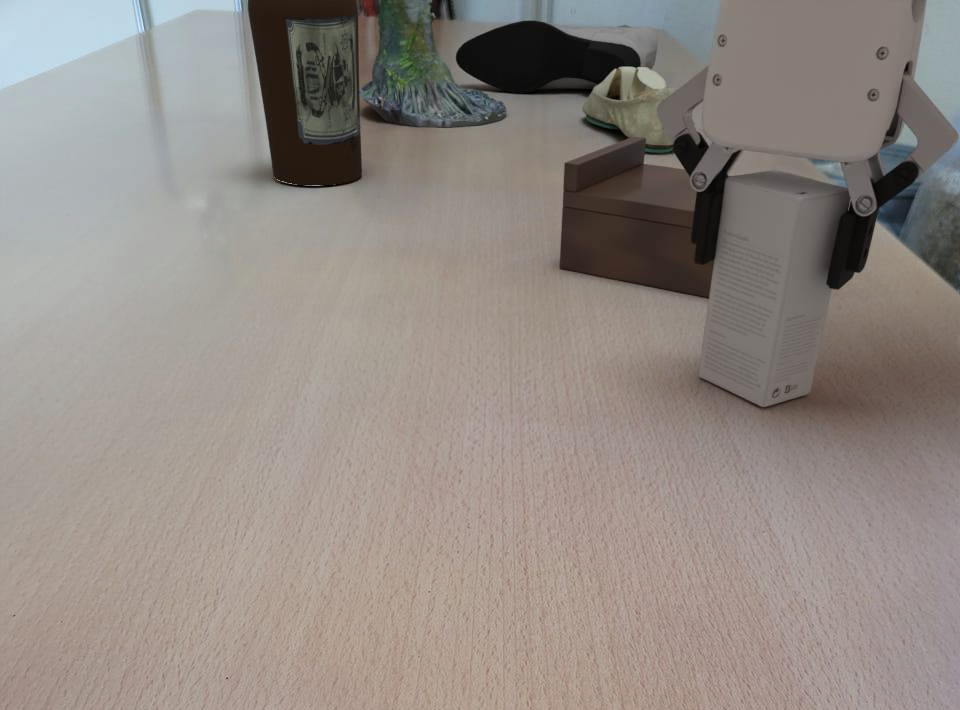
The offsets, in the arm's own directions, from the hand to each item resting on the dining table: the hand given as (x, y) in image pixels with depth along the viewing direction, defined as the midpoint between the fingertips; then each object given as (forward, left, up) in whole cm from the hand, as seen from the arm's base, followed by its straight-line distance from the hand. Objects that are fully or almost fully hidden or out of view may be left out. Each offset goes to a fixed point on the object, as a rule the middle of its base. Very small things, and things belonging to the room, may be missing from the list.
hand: (772, 268), depth 59 cm
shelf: (+14, -20, -7) cm, 25 cm away
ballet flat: (+41, -66, -7) cm, 78 cm away
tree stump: (+70, -63, -7) cm, 94 cm away
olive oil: (+59, -27, -7) cm, 65 cm away
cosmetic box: (0, 0, -7) cm, 7 cm away
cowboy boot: (+68, -96, -7) cm, 118 cm away
